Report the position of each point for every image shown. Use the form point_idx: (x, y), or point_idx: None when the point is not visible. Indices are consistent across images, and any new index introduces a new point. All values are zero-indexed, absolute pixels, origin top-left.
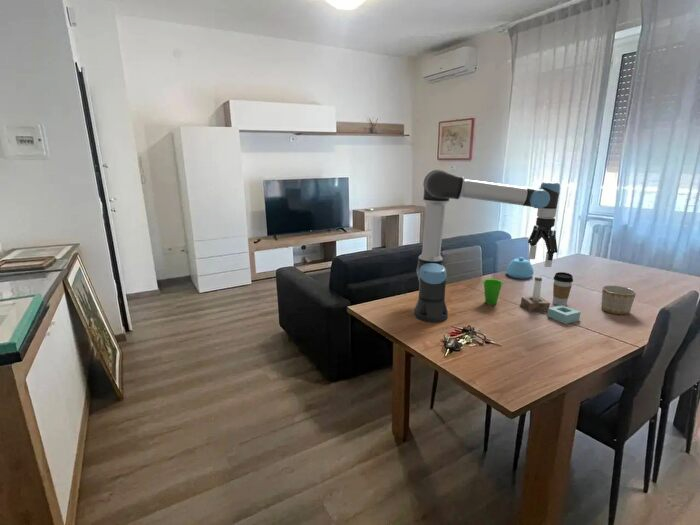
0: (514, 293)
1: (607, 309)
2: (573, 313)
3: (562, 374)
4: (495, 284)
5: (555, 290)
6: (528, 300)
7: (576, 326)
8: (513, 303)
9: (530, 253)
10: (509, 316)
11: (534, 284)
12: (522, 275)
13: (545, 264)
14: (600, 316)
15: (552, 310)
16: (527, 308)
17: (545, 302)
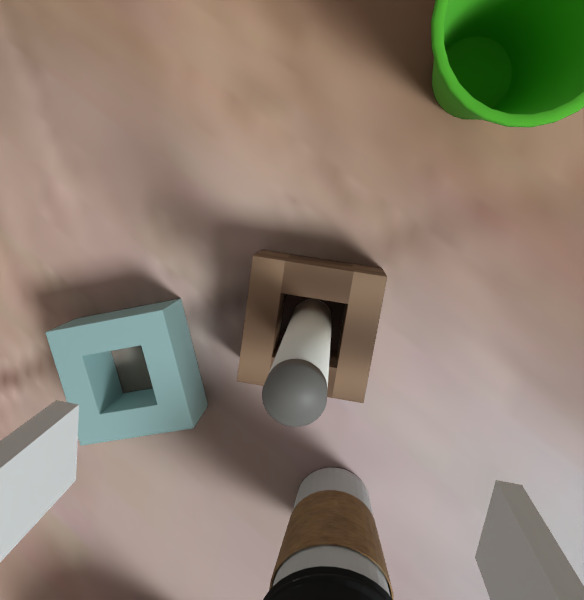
0: (578, 359)
1: None
2: (64, 390)
3: None
4: (553, 99)
5: (330, 516)
6: (309, 276)
7: (40, 351)
8: (411, 232)
9: (532, 553)
10: (221, 67)
11: (305, 345)
12: None
13: (39, 417)
14: (131, 552)
15: (134, 314)
16: (296, 255)
17: (251, 360)
